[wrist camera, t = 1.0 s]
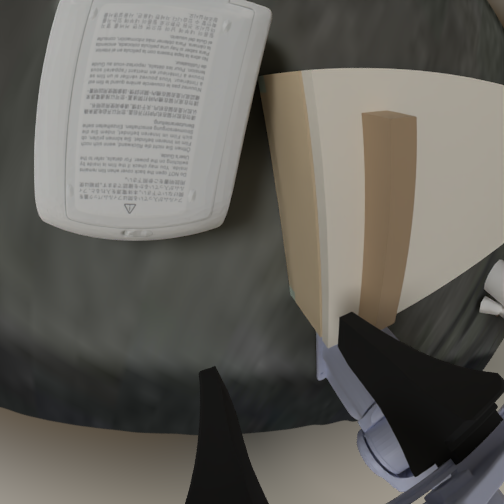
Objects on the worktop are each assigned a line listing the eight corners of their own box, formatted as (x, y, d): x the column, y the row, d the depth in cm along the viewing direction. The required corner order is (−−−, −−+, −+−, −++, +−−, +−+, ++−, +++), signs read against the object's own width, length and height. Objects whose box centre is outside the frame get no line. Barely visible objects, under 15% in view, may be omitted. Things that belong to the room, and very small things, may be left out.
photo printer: (72, 7, 9) (52, 218, 14) (50, -17, 5) (29, 254, 11) (255, 22, 12) (216, 221, 18) (289, 4, 9) (235, 256, 15)
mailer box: (476, 212, 28) (506, 230, 24) (290, 294, 23) (320, 337, 19) (485, 81, 19) (523, 90, 15) (257, 76, 14) (297, 71, 10)
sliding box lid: (508, 231, 23) (524, 242, 21) (322, 340, 19) (341, 368, 17) (526, 91, 15) (546, 98, 12) (301, 70, 10) (338, 68, 8)
